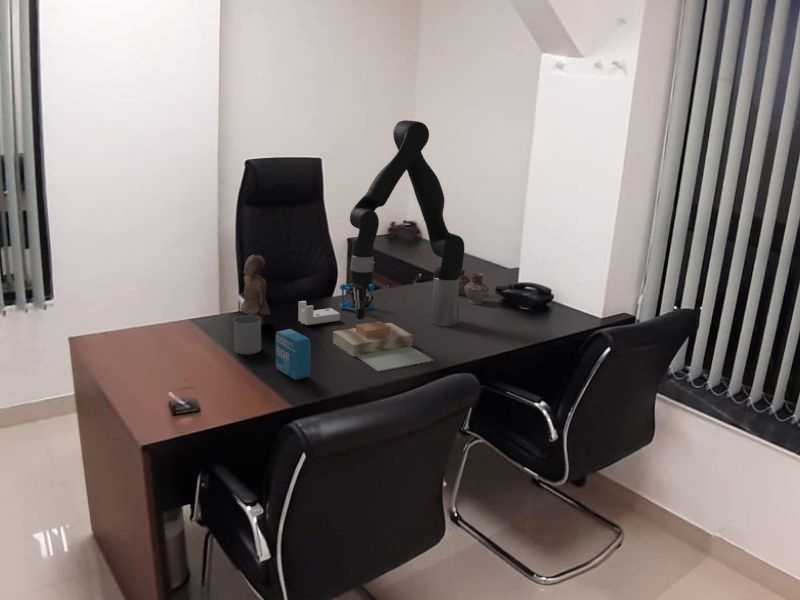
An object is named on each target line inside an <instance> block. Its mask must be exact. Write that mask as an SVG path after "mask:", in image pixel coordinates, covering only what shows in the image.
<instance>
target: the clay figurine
mask: <svg viewBox="0 0 800 600" xmlns="http://www.w3.org/2000/svg"><path fill="white" fill-rule="evenodd" d="M265 265H266V261H265V259H264V257H263V256H261V255H260V254H252V255H250V256H248V258H247V259H246V261H245V263H244V269H243V272H242V273H243V275H244V277H243V282H244V289H243V296H244V300H243V301H242V303H241V305H240V311H241V312H242V313H244V314H246V315H251V316H257V317H259V318H260V319H261V326H263V325H265V324H266V321H264V316H270V315H271V312H270V311H271V310H270V308H269V306H268V303H267V299H266V290H267V286H268V285H267V281H266V279H264V278H263V277H262V276H261V275H260V270H262V269H263V268H264V267H265Z"/></svg>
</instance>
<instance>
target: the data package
mask: <svg viewBox="0 0 800 600" xmlns="http://www.w3.org/2000/svg"><path fill="white" fill-rule="evenodd" d="M311 345H312V344H311V340H310V339H309V337H307V336H305V335H303V334H301V333H299V332H298V331H295V330H293V329H291V328H287V329H283V330H279V331H276V333H275V368H276V369H277V370H278V371H280V372H281V373H282V374H284V375H286V376H288V377H289V378H291V379H293V380H295V381H297V380H303V379H305V378H309V377H310V376H311V350H312V349H311Z"/></svg>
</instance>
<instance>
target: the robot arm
mask: <svg viewBox="0 0 800 600" xmlns="http://www.w3.org/2000/svg"><path fill="white" fill-rule="evenodd" d="M393 128H394V129H393V133H392V134H393V141H394V145H395V146H396V148H397V150H398V151H397V152H396V154H395V155H394V157H393V158H391V160H390V161H389V162H388V163H387V164H386V165H385V166H384V167H382V169H381V170H380V171H379V172H378V173H377V175H376V176H375V178H374V179H373V181H372V182H371V184H370V186H369V188H368V189H367V192H366V193H365V194H364V195H363V197H361V198H360V200H358V202H357V203H356V204H355V205H354V207H353V208H352V210H351V212H350V215H349V222H350V224H351V226H353V228H355V229H358V234H357V236H355V237H354V238H353V239H352V244H351V245H352V246H351V259H350V276H349V277H350V278H349V279H350V284H351V283H353V285H352V287H349V289H348V290H349V291H350V293H349V294H350V298H351V299H352V301H353V304H355V305H354V306H355V309H356V308H357V310H356V312H355V314H356V315H355V317H356V319H357V320H364V319H365V310H366V309H365V308H367V309H369V308H368V307H369V305H370V304H371V302H372V303H373V300H374V296H373V295H372V296H370V289H369V285H370V284H373V282H374V268H375V267H374V266H375V265H374V264H375V262H374V261H375V260H374V248H375V247H374V246H375V245H374V243H375V241H376V239H377V238H376V237H377V234H378V230H379V225H380V221H379V215H378V214H377V211H376V209H377V208H380V207H384V206H385V205H386V203H387V202H388V200H389V199H390V196H391V194H392V193H393V191H394V189H395V187H396V186H397V184H398V182H399V181H400V179H401V178H402V177H403V175H404V174H405V173H406V172H407V174H408V177H409V180H410V183H411V185H412V186H411V187H412V189H413V192H414V195H415V197H416V201H417V204H418V206H419V209H420V212H421V215H422V218H423V221H424V223H425V226H426V231H427V235H428V239H429V243H430V247H431V250H432V252H433V254H435V255H436V257H439V258H441V265H440V266H439V267H436V268H434V270H433V282H432V300H431V313H430V314H431V315H430V322H431V324H432V325H435V326H438V327H453V326H456V325H458V324H459V322H460V321H459V319H460V307H461V306H460V304H461V298H460V297H459V295H458V289H459V276H460V273H461V270H462V268H463V265H464V257H465V241H464V240H463V238H462V237H461V236H460V235H458V234H456V233H455V234H454V233H451V232H449V229H448V228H447V225H446V223H445V219H444V209H445V195H444V191H443V188H442V185H441V182H440V180H439V178H438V176H437V175H436V173H435V171H434V170H433V169H432V167H431V166H430V165H429V164H428V162H427V161H426V159H425V157H424V155H423V153H422V150H423V149H424V148H425V147H426V146H427V143H428V141H429V138H430V131H429V128H428V126H427V125H426V124H425V123H424V122H422V121H419V120H418V121H417V120H408V119H407V120H401V121H398V122H397V123H396V124H395V126H394V127H393ZM352 301H351V302H352ZM353 304H352V305H353Z"/></svg>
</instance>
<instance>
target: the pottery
mask: <svg viewBox="0 0 800 600" xmlns="http://www.w3.org/2000/svg"><path fill="white" fill-rule="evenodd" d="M470 275H471V279H470V278H469V277H468V276H467V275H465V268H464V267H462V270H461V273H460V276H459V289H458V296H460V295H459V294H462V295H463V294H464V293H465V296H466V297H467V298H468V301H467V302H468V303H469V304H472V305H482V304H483V300H484V299H485V298H486V296H487V294H488V292H489V287H488V286H487V285H486V284H484V283H483V278H484V273H480V272H472V273H470Z"/></svg>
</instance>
